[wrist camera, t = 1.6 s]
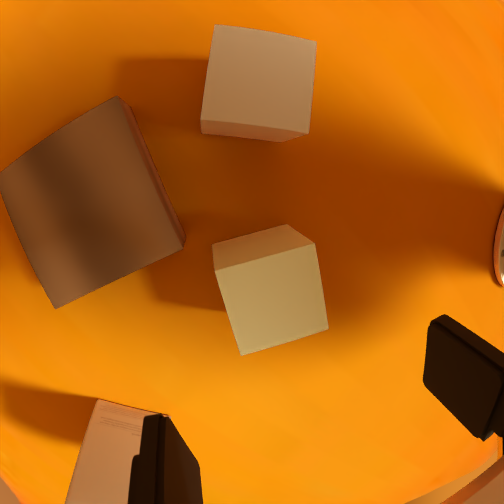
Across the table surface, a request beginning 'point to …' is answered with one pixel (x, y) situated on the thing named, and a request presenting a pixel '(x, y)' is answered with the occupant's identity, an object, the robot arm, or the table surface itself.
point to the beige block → (270, 287)
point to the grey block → (258, 85)
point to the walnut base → (90, 204)
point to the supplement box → (107, 455)
